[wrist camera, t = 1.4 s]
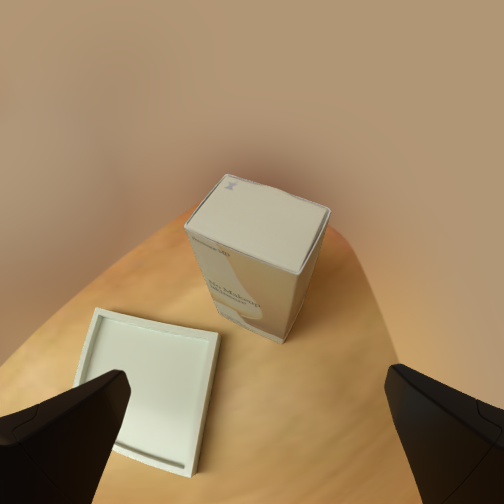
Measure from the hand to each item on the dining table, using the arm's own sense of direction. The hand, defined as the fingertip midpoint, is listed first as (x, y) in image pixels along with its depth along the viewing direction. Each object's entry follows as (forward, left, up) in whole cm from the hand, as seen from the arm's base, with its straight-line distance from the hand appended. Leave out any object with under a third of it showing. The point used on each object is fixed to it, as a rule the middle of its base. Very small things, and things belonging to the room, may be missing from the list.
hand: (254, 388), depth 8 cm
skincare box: (+8, +1, -13) cm, 15 cm away
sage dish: (-1, +10, -13) cm, 17 cm away
